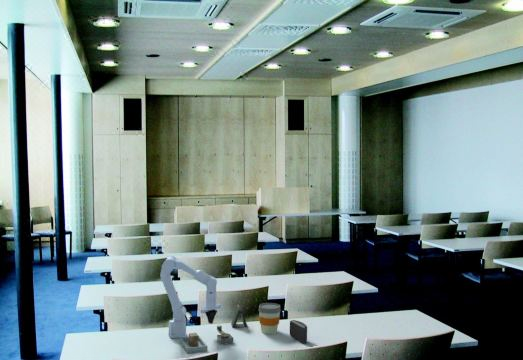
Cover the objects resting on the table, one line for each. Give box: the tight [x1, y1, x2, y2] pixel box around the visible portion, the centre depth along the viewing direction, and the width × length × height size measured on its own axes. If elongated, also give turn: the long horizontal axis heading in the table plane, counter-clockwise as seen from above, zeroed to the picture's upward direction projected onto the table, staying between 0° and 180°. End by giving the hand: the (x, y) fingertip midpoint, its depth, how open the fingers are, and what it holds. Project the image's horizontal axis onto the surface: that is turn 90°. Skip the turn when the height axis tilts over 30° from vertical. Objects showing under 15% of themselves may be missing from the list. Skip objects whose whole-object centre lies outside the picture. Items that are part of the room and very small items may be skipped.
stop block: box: [188, 332, 199, 347], centre depth 313 cm, size 4×5×6 cm
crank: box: [216, 325, 230, 337], centre depth 325 cm, size 12×4×3 cm, turn 25°
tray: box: [179, 335, 208, 354], centre depth 313 cm, size 11×17×2 cm, turn 20°
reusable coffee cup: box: [258, 302, 282, 335], centre depth 339 cm, size 13×13×15 cm
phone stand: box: [230, 304, 249, 329], centre depth 349 cm, size 9×6×12 cm, turn 99°
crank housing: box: [216, 333, 234, 346], centre depth 325 cm, size 7×14×3 cm, turn 20°
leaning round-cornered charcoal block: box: [289, 319, 308, 345], centre depth 326 cm, size 16×5×9 cm, turn 28°
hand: (210, 323), depth 331 cm, fingers closed
